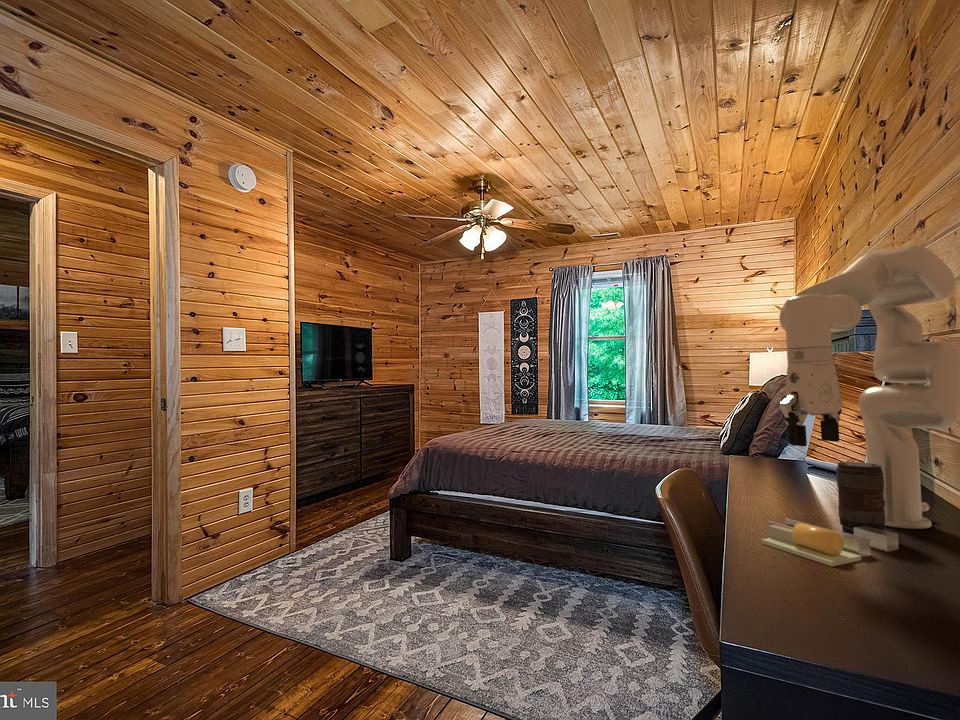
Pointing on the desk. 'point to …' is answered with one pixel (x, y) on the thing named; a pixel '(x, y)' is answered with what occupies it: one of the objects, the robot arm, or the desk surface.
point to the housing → (858, 538)
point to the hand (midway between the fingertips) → (814, 443)
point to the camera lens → (860, 495)
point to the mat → (812, 553)
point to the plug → (809, 538)
